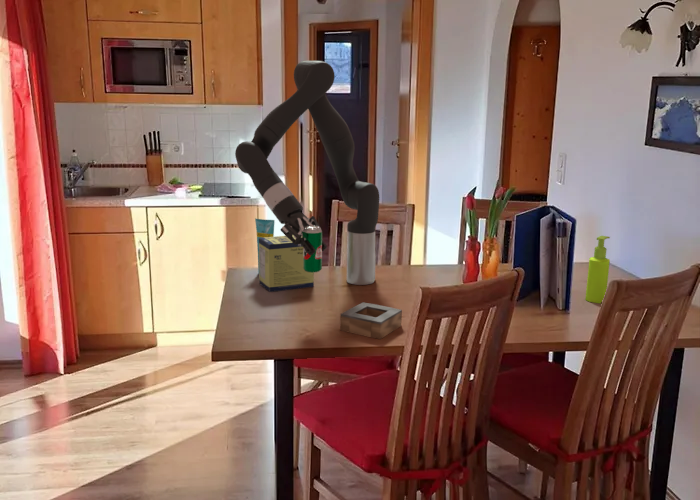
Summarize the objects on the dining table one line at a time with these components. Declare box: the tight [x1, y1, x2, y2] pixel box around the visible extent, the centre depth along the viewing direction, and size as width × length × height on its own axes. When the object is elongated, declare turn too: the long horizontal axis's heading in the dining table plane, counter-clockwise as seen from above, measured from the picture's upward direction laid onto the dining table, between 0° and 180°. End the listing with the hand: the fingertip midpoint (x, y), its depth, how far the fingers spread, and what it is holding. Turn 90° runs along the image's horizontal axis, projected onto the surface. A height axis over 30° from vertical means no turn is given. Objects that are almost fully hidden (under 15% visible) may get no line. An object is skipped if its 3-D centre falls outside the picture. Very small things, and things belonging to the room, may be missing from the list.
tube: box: [254, 218, 275, 273], centre depth 233 cm, size 7×5×19 cm, turn 72°
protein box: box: [258, 235, 315, 293], centre depth 221 cm, size 10×16×16 cm
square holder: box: [339, 301, 403, 340], centre depth 184 cm, size 12×12×5 cm
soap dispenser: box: [584, 235, 611, 304], centre depth 209 cm, size 6×7×20 cm
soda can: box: [303, 226, 323, 274], centre depth 186 cm, size 5×5×12 cm
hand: (318, 251), depth 185 cm, fingers closed on soda can, 4 cm apart
